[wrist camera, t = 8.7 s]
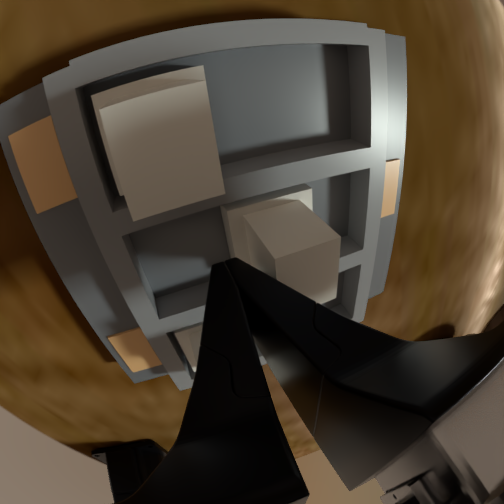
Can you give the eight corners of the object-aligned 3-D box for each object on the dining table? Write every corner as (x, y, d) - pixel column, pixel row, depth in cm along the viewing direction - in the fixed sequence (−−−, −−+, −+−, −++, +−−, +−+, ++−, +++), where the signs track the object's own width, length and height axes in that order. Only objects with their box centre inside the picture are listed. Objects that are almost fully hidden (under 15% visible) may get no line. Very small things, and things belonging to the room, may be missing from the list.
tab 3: (301, 244, 13) (347, 298, 10) (232, 267, 12) (265, 331, 9) (298, 178, 11) (355, 222, 8) (218, 199, 10) (254, 255, 7)
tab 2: (247, 337, 15) (274, 394, 12) (189, 356, 14) (208, 417, 11) (238, 294, 13) (269, 357, 10) (170, 316, 12) (187, 385, 10)
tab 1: (212, 157, 9) (249, 200, 7) (121, 184, 9) (116, 241, 6) (196, 66, 7) (229, 61, 5) (96, 93, 7) (70, 104, 4)
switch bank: (368, 279, 18) (394, 306, 16) (132, 362, 15) (138, 403, 13) (380, 33, 10) (426, 35, 8) (7, 100, 7) (-28, 111, 5)
